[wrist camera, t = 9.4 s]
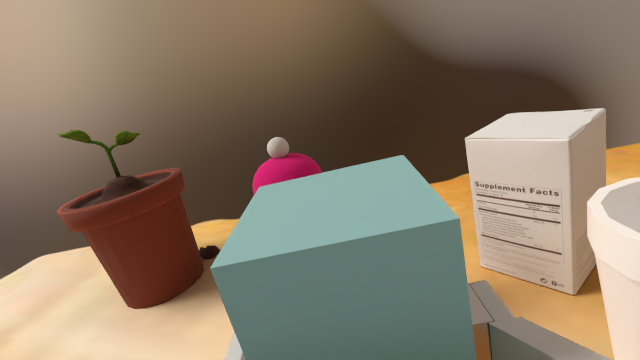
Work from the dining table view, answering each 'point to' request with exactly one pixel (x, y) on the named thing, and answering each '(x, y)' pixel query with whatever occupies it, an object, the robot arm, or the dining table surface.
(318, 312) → the block
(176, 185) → the potted plant
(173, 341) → the dining table surface
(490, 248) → the supplement box
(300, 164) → the pepper mill
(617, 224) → the foam cup
